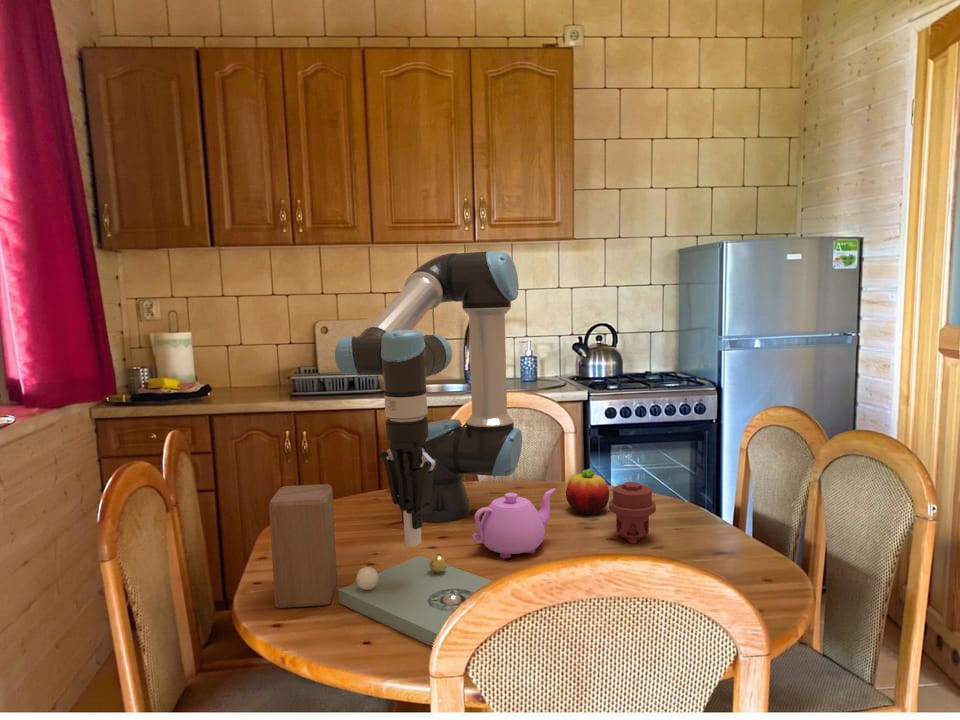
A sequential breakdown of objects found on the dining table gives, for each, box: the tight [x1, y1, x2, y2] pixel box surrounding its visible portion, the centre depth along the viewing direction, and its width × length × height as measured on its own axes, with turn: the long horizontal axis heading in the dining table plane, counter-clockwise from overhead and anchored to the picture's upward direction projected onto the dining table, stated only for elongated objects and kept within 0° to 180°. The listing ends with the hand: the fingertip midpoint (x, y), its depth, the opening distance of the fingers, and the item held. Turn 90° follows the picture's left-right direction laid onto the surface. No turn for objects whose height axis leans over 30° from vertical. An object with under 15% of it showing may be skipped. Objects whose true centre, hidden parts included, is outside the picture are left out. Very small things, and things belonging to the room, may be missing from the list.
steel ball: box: [442, 593, 462, 606], centre depth 116 cm, size 4×4×4 cm
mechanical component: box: [608, 481, 657, 545], centre depth 148 cm, size 12×10×10 cm
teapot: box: [471, 487, 557, 559], centre depth 145 cm, size 20×14×12 cm
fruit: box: [565, 468, 610, 515], centre depth 168 cm, size 11×11×10 cm
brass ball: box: [429, 553, 448, 573], centre depth 128 cm, size 4×4×4 cm
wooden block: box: [268, 483, 338, 609], centre depth 124 cm, size 10×10×20 cm
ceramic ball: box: [355, 566, 379, 590], centre depth 121 cm, size 4×4×4 cm
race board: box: [338, 555, 493, 647], centre depth 120 cm, size 26×20×2 cm
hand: (413, 543), depth 123 cm, fingers closed
